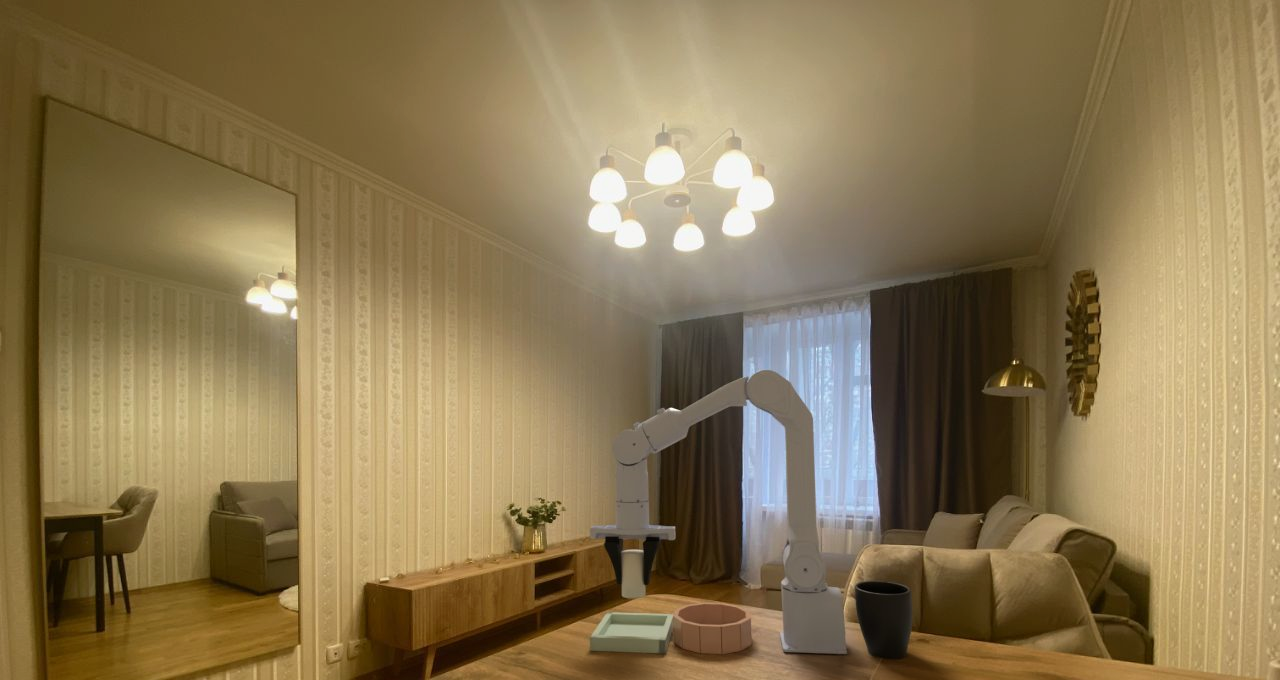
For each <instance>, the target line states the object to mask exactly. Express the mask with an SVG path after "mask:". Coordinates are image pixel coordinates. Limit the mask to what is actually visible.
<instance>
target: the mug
mask: <svg viewBox="0 0 1280 680" xmlns="http://www.w3.org/2000/svg"><path fill="white" fill-rule="evenodd" d="M912 594H913V593H912V589H911V588H910V587H908V586H906V585H904V584H902V583H901V584H900V583H896V582H893V581H885V580H884V581H883V580H882V581H881V580H874V579H871V580H867V581H861V582H858V583H855V585H854V596H855V597H854V598H855V610H856V616H857V618H858V619H857V620H858V625H859V627H860V631H861V634H862V637H863V640H864V642H865V646H866V649H867V652H868V653H869V654H871V655H872V656H875V657H877V658H881V659H887V660H898V659H903V658H905V657H907V653H908V647H909V644H910V639H911V634H912V629H913V628H912V627H913V617H914V616H913V613H914V610H913V609H914V608H913V596H912Z"/></svg>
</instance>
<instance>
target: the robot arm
mask: <svg viewBox="0 0 1280 680" xmlns="http://www.w3.org/2000/svg"><path fill="white" fill-rule="evenodd" d="M749 377H750V378H749ZM747 401H749V402H750V403H751V404H752V406H754V407H755V408H757V409H759V410H762V411H763V412H766V413H768V414H769V415H771V416H772V418H774V419H775V420H776V421H777V422H778V423H780V425H782V427H784V440H785V441H784V442H785V445H784V446H785V447H784V448H785V483H786V484H785V485H786V520H787V521H786V522H787V523H786V540H785V544H784V546H783V548H782V551H781V555H780V556H781V563H782V565H783V567H784V575H785V577H784V578H783V579H782V580H781V582H780V586H781V587H780V589H781V590H780V591H781V605H782V607H781V608H782V609H781V610H782V611H781V612H782V627H783V630H782V631H781V632H779V638H780V642H781V646H782V647H781V648H782V651H783V652H785V653H800V654H801V653H804V654H826V655H827V654H829V655H831V654H832V655H847V654H848V651H847V645H846V644H847V642H846V641H847V640H846V626H845V612H844V609H845V608H844V601H843V595H842V592H841V589H840V588H839V587H834V586H828V583H827V581H826V580H825V578H826V576H827V566H826V562H825V561H824V559H823V557H822V554H821V551H820V542H819V536H818V529H817V505H816V504H817V503H816V501H817V499H816V473H815V471H816V469H815V439H814V438H815V437H814V417H813V414H812V413H811V412H812V411H810V409H809V408H808V406H807V405H806V403H805V402H804V401H803V399H802V398H801V396H800V395H799V394H798V392H797V391H796V390H795V387H794V386H793V384H792V382H790V381H789V380H788V379H786V378H785V377H784V376H782V375H781V374H780V373H778V372H776V371H774V370H772V369H761V370H758V371H755V373H753V374H751V376H749V375H746V376H744V377H740V378H738V379H736V380H734V381H731V382H728V383H726V384H725V385H723V386H721V387H719V388H718V389H716V390H714V391H712V392H711V393H709V394H707V395H705V396H704V397H702V398H701V399H699V400H696V402H694V403H692V404H690V405H688V406H686V407H685V408H683V409H681V410H679V409H676V408H673V407H669V408H667V409H665V407H662V408H660V409H657V410H656V413H657V414H656V415H654V416H652V417H650V418H648V419H647V420H646V419H645V420H644V421H643V422H641V423H640V422H639V421H637V422H635V423H634V424H633V425H632V426H633V429H634V430H633V429H623V430H622V431H621V432H620V433H618V434H617V436H616V437H615V438H614V439H613V442H612V445H611V451H612V455H613V456H614V458H615V459H616V460H615V475H614V477H615V524H613V525H612V524H610V525H592V526H591V527H590V528H589V539H590V540H597V539H604V543H603V545H604V549H605V551H606V553H607V555H608V556H609V560H610V562H611V565H612V567H613V571H614V574H615V580H616V585H622V570H621V552H622V551H624V540H644V541H643V542H642V548H643V549H642V550H643V551H644V585H645V586H648V585H649V584H650V582H651V575H652V568H653V564H654V561H655V557H656V554H657V551H658V549H659V546H660V544H661V541H662V540H668V541H675V540H676V537H677V536H676V526H671V525H670V526H666V525H655V524H654V525H653V524H650V499H649V497H650V496H649V495H650V494H649V473H648V457H649V456H650V454H656V453H658V452H660V451H662V450H665V449H666V448H668V447H670V446H672V445H673V444H676V443H677V442H679V441H681V440H683V439H685V438H687V435H688V433H689V429H690V427H691V426H693V425H695V424H697V423H699V422H701V421H703V420H704V419H707V418H709V417H711V416H713V415H715V414H717V413H719V412H721V411H723V410H726V409H727V408H729V407H730V408H731V407H747V406H748V403H747Z"/></svg>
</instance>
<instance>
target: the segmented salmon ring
mask: <svg viewBox="0 0 1280 680" xmlns="http://www.w3.org/2000/svg"><path fill="white" fill-rule="evenodd" d="M672 614H673V631H672V634H673V635H672V636H673V642H674V644H676V645H677V646H678V647H680V648H681V649H682V650H687V651H691V652H694V653H698V654H707V655H708V654H710V655H712V654H713V655H725V654H731V653H735V652H741V651H743V650H745V649H747V648H749V647H750V646H752V645H753V641H752V640H753V638H752V637H753V636H752V617H751V611H750V610H748V609H746V608H744V607H743V606H739V605H735V604H729V603H722V602H700V603H691V604H685V605H683V606H681V607H678V608H676V609H674V611H673V613H672Z"/></svg>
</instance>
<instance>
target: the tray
mask: <svg viewBox="0 0 1280 680" xmlns="http://www.w3.org/2000/svg"><path fill="white" fill-rule="evenodd" d="M673 614H674V613H649V612H648V613H645V612H644V613H643V612H616V611H615V612H614V611H613V612H611V611H608V612H606V613H605V615H604V616H603V618H602V619H601V621H600V622H599V624H598V625H597V627H596V628H595V630H594V631H593V632H592V634H591V635H590V637H589V641H590V642H589V650H590V651H594V652H615V653H618V652H621V653H640V654H641V653H643V654H645V653H646V654H667V651H668V647H669V644H670V640H671V638H672V636H673V635H672V634H673Z"/></svg>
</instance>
